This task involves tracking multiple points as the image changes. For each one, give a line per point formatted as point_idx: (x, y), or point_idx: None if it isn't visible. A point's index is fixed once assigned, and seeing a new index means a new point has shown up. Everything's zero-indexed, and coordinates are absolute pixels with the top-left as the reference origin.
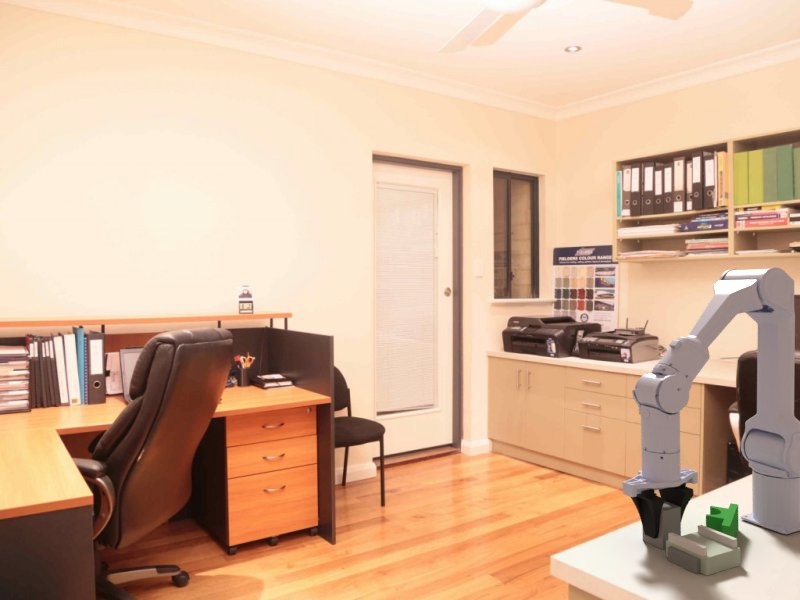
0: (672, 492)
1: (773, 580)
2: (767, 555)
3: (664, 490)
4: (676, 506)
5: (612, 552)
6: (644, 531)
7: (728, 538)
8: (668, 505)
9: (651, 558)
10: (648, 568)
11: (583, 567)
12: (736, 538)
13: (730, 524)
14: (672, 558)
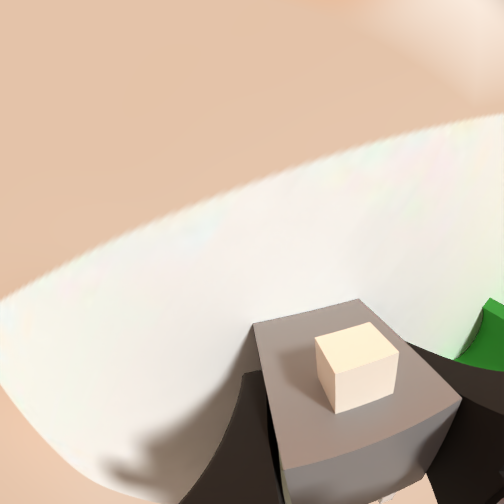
0: (471, 489)
1: None
2: None
3: (494, 456)
4: (414, 479)
5: (84, 369)
6: (241, 384)
7: (381, 499)
8: (398, 478)
9: (189, 432)
10: (150, 457)
11: (9, 392)
12: (391, 498)
13: None
14: None
